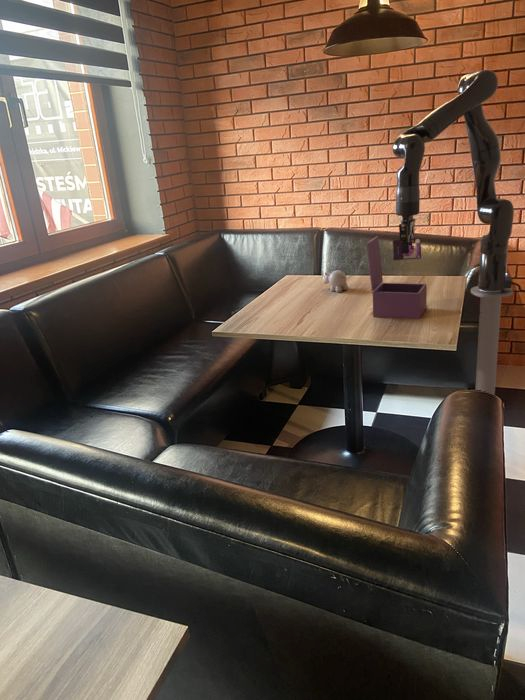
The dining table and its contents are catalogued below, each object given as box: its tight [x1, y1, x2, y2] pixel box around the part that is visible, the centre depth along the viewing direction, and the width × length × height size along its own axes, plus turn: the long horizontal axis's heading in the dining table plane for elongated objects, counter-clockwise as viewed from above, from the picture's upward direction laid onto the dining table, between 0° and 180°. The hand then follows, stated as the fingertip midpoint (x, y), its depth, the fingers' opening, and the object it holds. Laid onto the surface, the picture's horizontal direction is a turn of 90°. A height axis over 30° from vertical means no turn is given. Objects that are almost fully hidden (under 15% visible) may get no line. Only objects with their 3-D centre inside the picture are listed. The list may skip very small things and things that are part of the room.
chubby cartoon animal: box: [322, 269, 349, 293], centre depth 221 cm, size 7×12×8 cm, turn 36°
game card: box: [392, 238, 422, 261], centre depth 182 cm, size 7×5×9 cm
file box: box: [372, 282, 428, 320], centre depth 185 cm, size 16×13×9 cm
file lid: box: [366, 235, 384, 292], centre depth 184 cm, size 16×13×1 cm
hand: (406, 251), depth 181 cm, fingers closed on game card, 4 cm apart
